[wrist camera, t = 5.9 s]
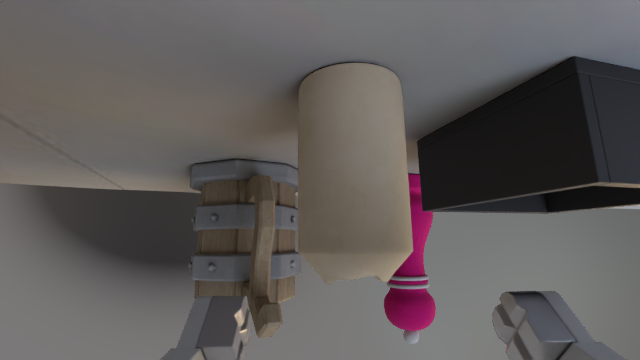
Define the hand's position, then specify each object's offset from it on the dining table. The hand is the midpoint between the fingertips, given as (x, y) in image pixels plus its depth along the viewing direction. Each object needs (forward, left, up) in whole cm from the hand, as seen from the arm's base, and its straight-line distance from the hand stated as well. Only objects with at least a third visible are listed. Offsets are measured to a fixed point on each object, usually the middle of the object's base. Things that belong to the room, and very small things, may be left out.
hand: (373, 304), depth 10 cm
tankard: (+2, -23, -10) cm, 26 cm away
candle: (+2, -4, -10) cm, 11 cm away
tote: (+17, -2, -10) cm, 20 cm away
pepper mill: (+21, -22, -10) cm, 33 cm away
